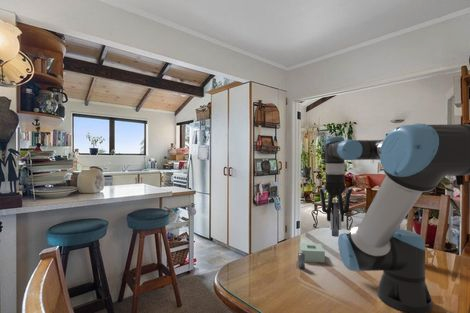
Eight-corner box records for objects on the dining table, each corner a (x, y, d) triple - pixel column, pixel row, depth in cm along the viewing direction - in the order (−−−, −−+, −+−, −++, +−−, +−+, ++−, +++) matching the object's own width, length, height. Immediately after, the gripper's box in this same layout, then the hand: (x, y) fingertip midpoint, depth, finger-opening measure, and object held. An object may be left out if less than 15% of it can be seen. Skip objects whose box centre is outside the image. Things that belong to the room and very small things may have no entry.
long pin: (339, 236, 105) (339, 203, 105) (332, 236, 105) (332, 203, 105) (337, 234, 107) (337, 202, 107) (331, 234, 108) (330, 201, 108)
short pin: (305, 269, 107) (305, 255, 107) (298, 269, 107) (298, 255, 107) (304, 266, 110) (304, 252, 109) (297, 266, 110) (297, 252, 110)
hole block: (324, 262, 114) (324, 251, 114) (302, 261, 115) (301, 250, 115) (320, 253, 123) (320, 243, 123) (299, 252, 125) (299, 242, 125)
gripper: (352, 172, 109) (352, 227, 109) (314, 172, 111) (314, 225, 111) (357, 174, 101) (358, 232, 101) (317, 174, 104) (317, 230, 104)
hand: (335, 228), depth 106 cm, fingers closed on long pin, 3 cm apart
